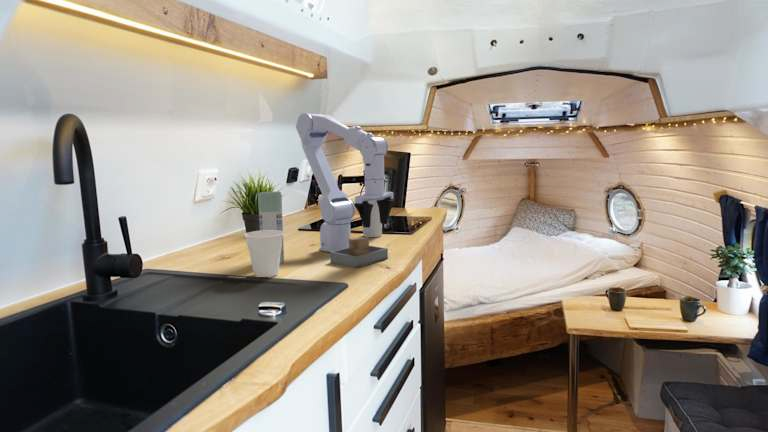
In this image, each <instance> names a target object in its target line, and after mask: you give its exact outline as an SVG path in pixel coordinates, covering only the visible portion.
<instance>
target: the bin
mask: <svg viewBox="0 0 768 432" xmlns="http://www.w3.org/2000/svg"><path fill="white" fill-rule="evenodd" d="M388 249H389V248H387V247H380V246H376V245H375V246H374V245H369V253H367V254H363V255H360V256H352V255H349V248H345V249H341V250H337V251H333V252H329V254H330V255H329V256H330V257H329V258H330V263H332V264H335V265H342V266H346V267H351V268H356V269H357V268H361V267H365V266H367V265H371V264H374V263H377V262H381V261H384V260H387V259H388V258H389V256H388V255H389V251H388ZM388 260H389V259H388Z"/></svg>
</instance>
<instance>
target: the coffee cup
mask: <svg viewBox="0 0 768 432" xmlns="http://www.w3.org/2000/svg"><path fill="white" fill-rule="evenodd" d="M363 194H364V193H361V194H360V195H363ZM373 199H377V198H373ZM369 200H370V199H369ZM368 203H369V204H373V208H372V211H371V223H370V227H369V228H366V227H363V224H361V225H362V233H363V234H362V235H363V238H368V237H375V238H380V236H381V237H382V235H383V224H381V222H380V213H379V207H378V204H377V201H371V202H368Z"/></svg>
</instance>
